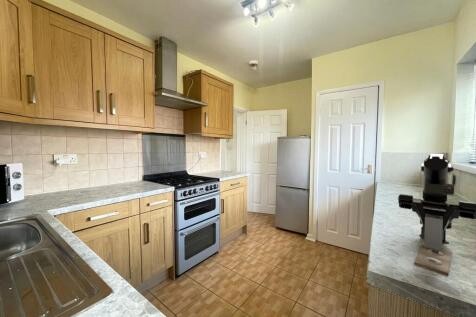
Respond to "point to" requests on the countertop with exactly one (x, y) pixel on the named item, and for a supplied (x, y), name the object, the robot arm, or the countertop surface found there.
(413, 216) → the countertop surface
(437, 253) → the mounting board
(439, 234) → the block
